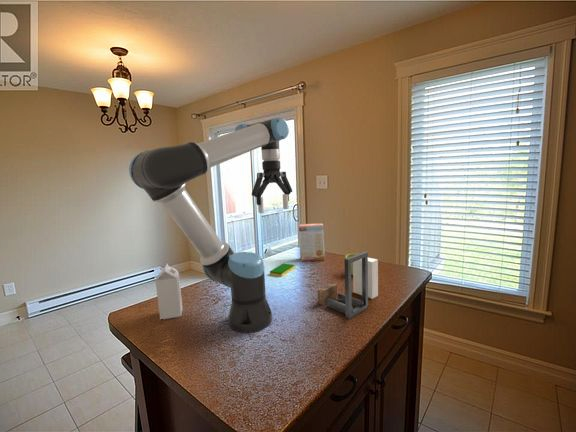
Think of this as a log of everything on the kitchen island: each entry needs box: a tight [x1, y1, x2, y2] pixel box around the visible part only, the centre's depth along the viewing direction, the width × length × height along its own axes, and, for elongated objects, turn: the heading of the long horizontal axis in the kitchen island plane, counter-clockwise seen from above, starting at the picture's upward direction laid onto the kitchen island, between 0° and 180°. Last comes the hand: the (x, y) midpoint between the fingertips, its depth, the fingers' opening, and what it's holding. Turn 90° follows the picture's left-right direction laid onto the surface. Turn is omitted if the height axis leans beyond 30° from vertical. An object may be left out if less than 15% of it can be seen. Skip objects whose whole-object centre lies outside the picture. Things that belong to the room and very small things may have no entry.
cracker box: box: [298, 223, 326, 262], centre depth 163 cm, size 14×6×21 cm, turn 84°
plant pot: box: [345, 253, 357, 276], centre depth 138 cm, size 9×9×9 cm
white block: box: [352, 257, 379, 300], centre depth 114 cm, size 4×9×15 cm, turn 40°
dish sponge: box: [269, 263, 295, 278], centre depth 146 cm, size 7×14×2 cm, turn 150°
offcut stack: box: [317, 283, 338, 306], centre depth 110 cm, size 8×3×6 cm, turn 131°
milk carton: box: [154, 262, 184, 321], centre depth 104 cm, size 7×7×19 cm
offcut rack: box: [326, 251, 369, 320], centre depth 102 cm, size 12×12×21 cm
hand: (273, 210), depth 120 cm, fingers open, 13 cm apart
